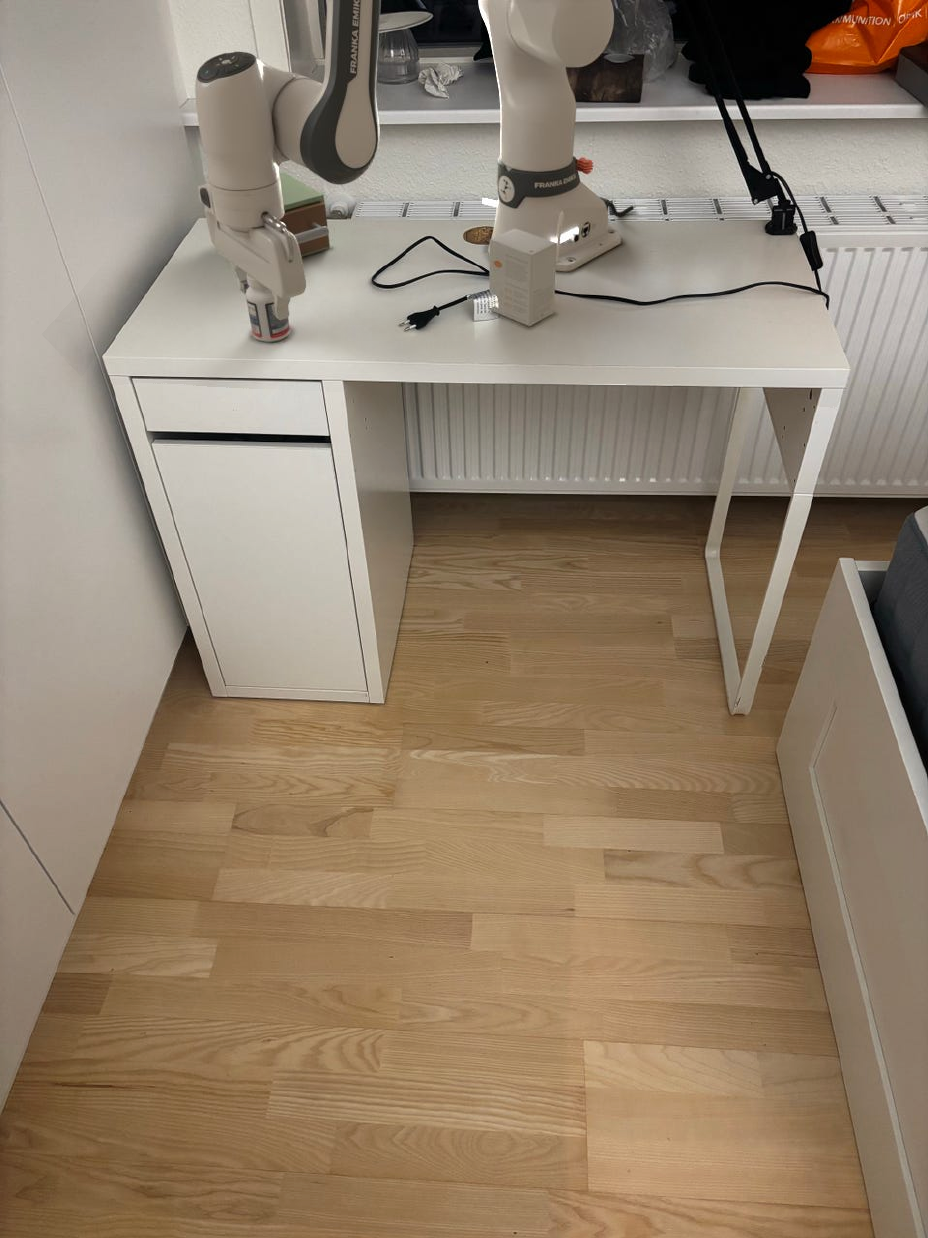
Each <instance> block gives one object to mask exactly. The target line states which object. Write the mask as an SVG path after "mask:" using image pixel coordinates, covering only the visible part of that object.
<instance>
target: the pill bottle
mask: <svg viewBox="0 0 928 1238" xmlns="http://www.w3.org/2000/svg"><path fill="white" fill-rule="evenodd" d="M246 276H247V283H248V285H249V286H250V287H249V288H248V289H247V291H246V294H245V300H246V305H247V310H248V311H247V312H248V315H249V321H250V326H251V332H252V336H253V337H254V339H256V340H258V341H260V342H265V343H266V342H267V343H269V342H270V343H271V342H273V343H274V342H278V341H281V340H283V339H285V338H287V337H288V336H289V335H290V333H291V327H290V320H289V317H288V318H286V319H283V320H279V319H277V318H276V317H275V316H274V315H273V313H272V312H273V311H272V307H271V305H272V304H274V300H275V297H274V296H273V295H272V291H271V290H270V289H268V288H267V287H265V286H264V285H263V284H261V283H260V282H259V281H257V280H256V279H254V278H253V277H252V276H250V275H249V274H248V273H247V274H246Z"/></svg>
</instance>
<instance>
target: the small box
mask: <svg viewBox="0 0 928 1238" xmlns="http://www.w3.org/2000/svg"><path fill="white" fill-rule="evenodd" d="M489 245H490V248H489V247H488V248H489V249H490V252H488V254H489V257H488V258H489V264H488V267H489V268H488V269H489V274H488V275H489V276H488V277H489V290H488V291H491V292H493V293H494V294H495V295H496V296H497V298H498V302H499V308H497V307H492V308H489V310H490V311H491V312H494V313H496V314H498V315H501V316H503V317H506V318H508V319H510V320H513V321H516V322H518V323H520V324H522V325H525V326H527V327H532V326H533V325H535V324H537V323H539V322H540V321H542V320H545V318H547V317H549V316H551V315H553V314H554V312H555V295H556V293H555V292H556V288H555V287H556V273H557V270H556V252H557V243H556V242H553V241H550V240H547V239H544V238H541V237H539V236H536V235H533V234H530V233H527V232H524V231H521V230H518V229H513V230H510V231H508V232H506V233H504V234H501V235H499V236H497V237H495V238H493V239H489Z"/></svg>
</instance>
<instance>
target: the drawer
mask: <svg viewBox="0 0 928 1238" xmlns="http://www.w3.org/2000/svg"><path fill="white" fill-rule="evenodd" d="M326 209H327V208H326V203H323V202H318V203H314V204H313V203H310V204H307V205H303V206H299V207H296V208H292V209H289V210H285V211H284V216H283V217H282V218H281V219H280V220H278V221H281V222H283V223H284V224H285V225H286V230H288V231H289V232H291V233H292V234H293V235H294V237H295V238H296V240H297V243H298V246H299V249H300V253H301V255H303V254H306V253H310V252H313V251H316V250H319V249H323V248H326V247H329V248H330V246H331V244H330V237H329V235H330V231H329V227H328V219H327V217H328V216H327V210H326Z"/></svg>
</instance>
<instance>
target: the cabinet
mask: <svg viewBox="0 0 928 1238" xmlns="http://www.w3.org/2000/svg"><path fill="white" fill-rule="evenodd" d="M279 174H280V182H281V189H282V197H283V204H284V211H285V210H289V209H292V208H296V207H299V206H303V205H307V204H310V203H313V204H314V203H318V202H323V203H325V195H324V194H323V193H322V192H320V191H318V190H316V189H314V188H313V187H311V186H310V185H307V184H306V183H304V182H302V181H300V180H299V179H297V178H295V177H293V176H291V175H290V174H288V173H286V172H284V171H283V172H279ZM325 204H326V203H325ZM326 250H330V246H329V247H326V248H323V249H319V250H316V251H313V252H310V253H306V254H303V255H301V258H303V257H307V256H309V255H312V254H316V253H320V252H323V251H326Z"/></svg>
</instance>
